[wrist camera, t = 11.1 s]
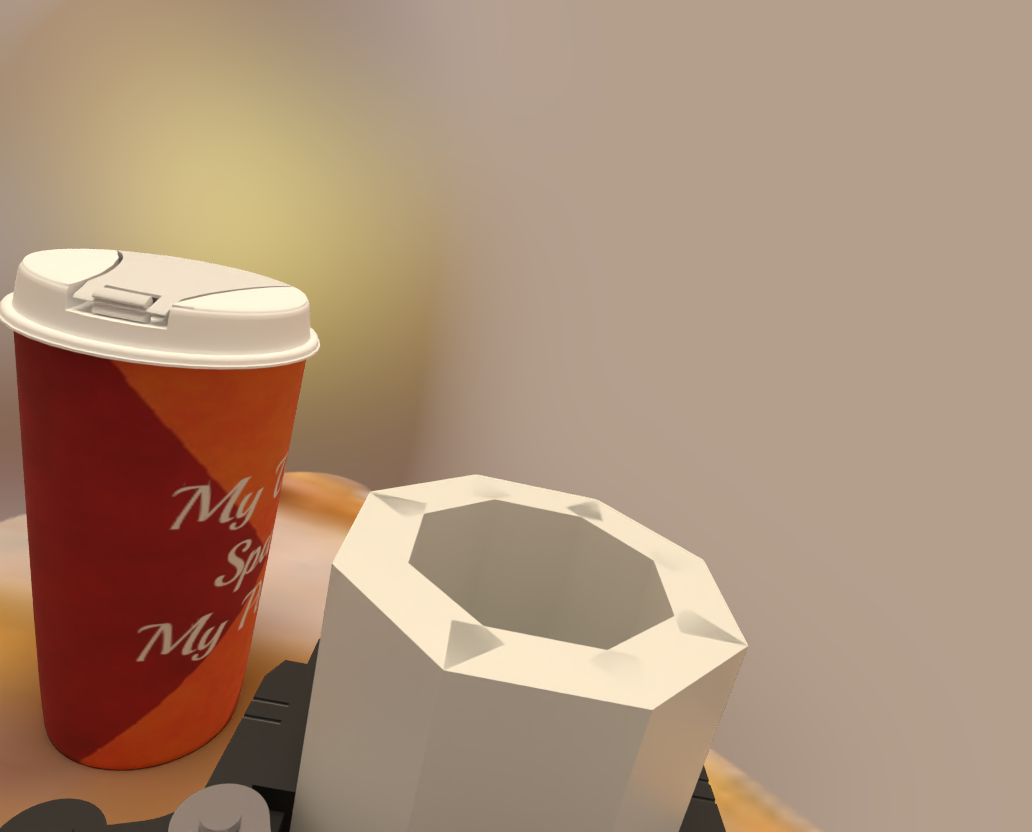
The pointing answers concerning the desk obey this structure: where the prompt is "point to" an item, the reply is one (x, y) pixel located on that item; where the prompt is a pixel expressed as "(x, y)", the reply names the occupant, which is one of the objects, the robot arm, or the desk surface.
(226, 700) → the paper cup
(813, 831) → the desk surface
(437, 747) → the white octagonal tube
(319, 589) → the desk surface
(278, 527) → the desk surface
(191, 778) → the desk surface
